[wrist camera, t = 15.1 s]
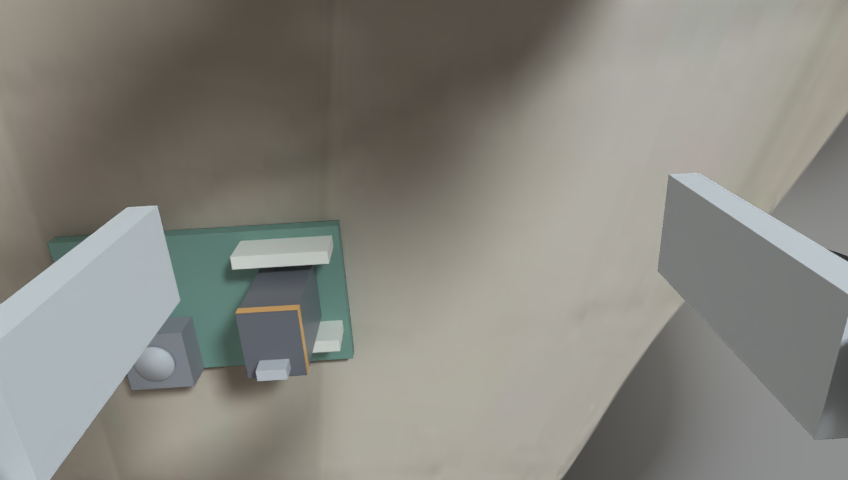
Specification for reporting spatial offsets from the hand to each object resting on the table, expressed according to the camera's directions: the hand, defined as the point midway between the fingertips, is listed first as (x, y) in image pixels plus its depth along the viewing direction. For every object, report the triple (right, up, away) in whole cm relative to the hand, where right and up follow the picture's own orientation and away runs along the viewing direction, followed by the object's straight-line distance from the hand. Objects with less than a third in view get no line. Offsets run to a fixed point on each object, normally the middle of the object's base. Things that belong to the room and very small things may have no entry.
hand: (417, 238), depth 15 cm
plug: (-10, -4, +31) cm, 33 cm away
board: (-17, -5, +32) cm, 37 cm away
